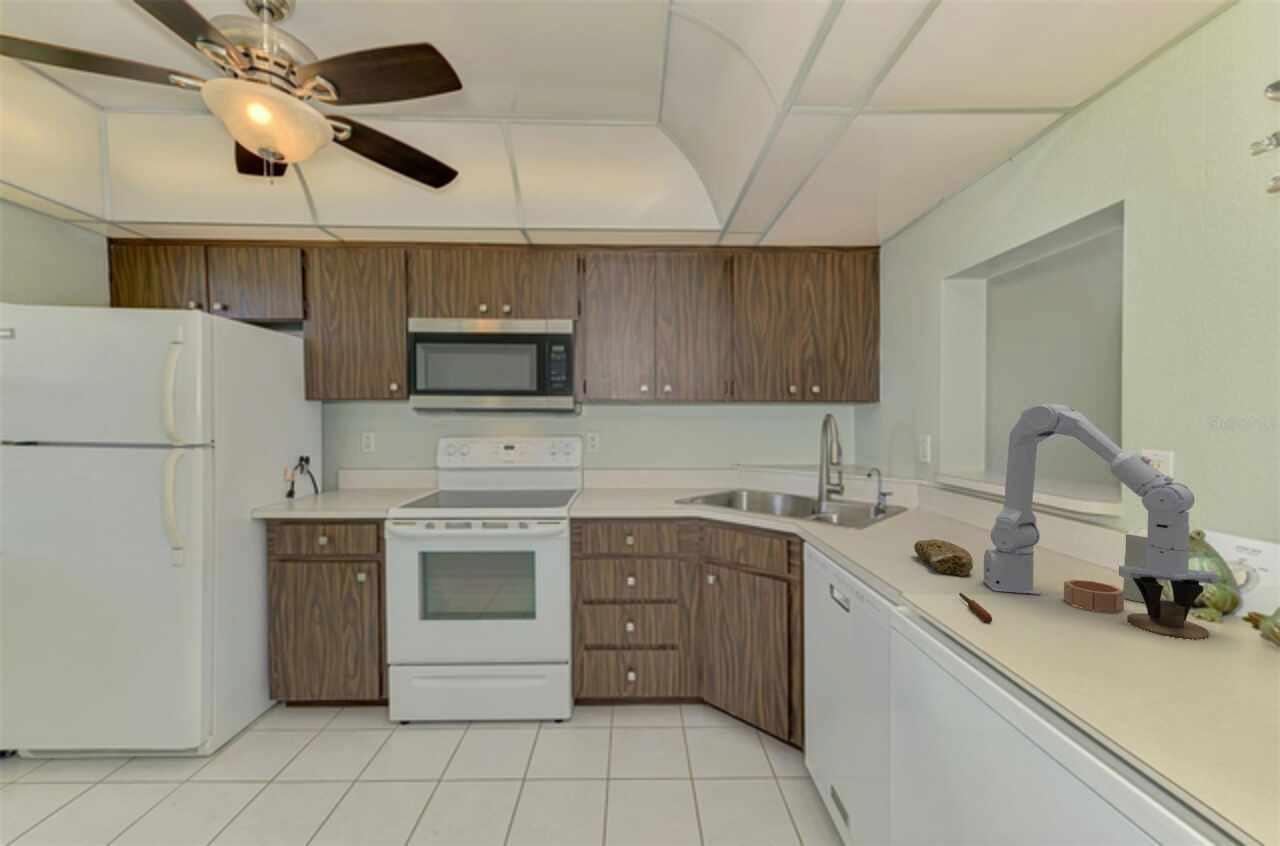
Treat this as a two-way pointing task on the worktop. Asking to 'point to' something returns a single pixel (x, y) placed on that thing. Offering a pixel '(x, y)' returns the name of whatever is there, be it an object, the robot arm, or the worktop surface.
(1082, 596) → the bowl
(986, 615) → the red handled screwdriver
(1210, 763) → the worktop surface
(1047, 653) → the worktop surface
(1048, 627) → the worktop surface
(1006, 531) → the robot arm
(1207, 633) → the lid
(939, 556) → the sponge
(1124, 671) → the worktop surface
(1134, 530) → the skincare box
